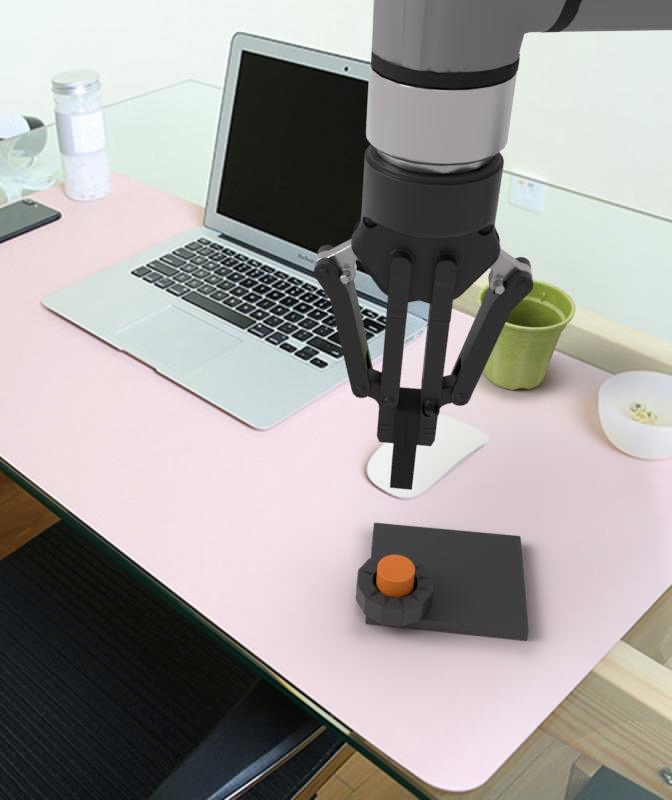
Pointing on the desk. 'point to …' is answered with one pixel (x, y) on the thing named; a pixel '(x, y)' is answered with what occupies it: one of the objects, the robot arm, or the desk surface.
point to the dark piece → (449, 582)
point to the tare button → (395, 576)
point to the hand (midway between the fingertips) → (401, 475)
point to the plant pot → (529, 337)
